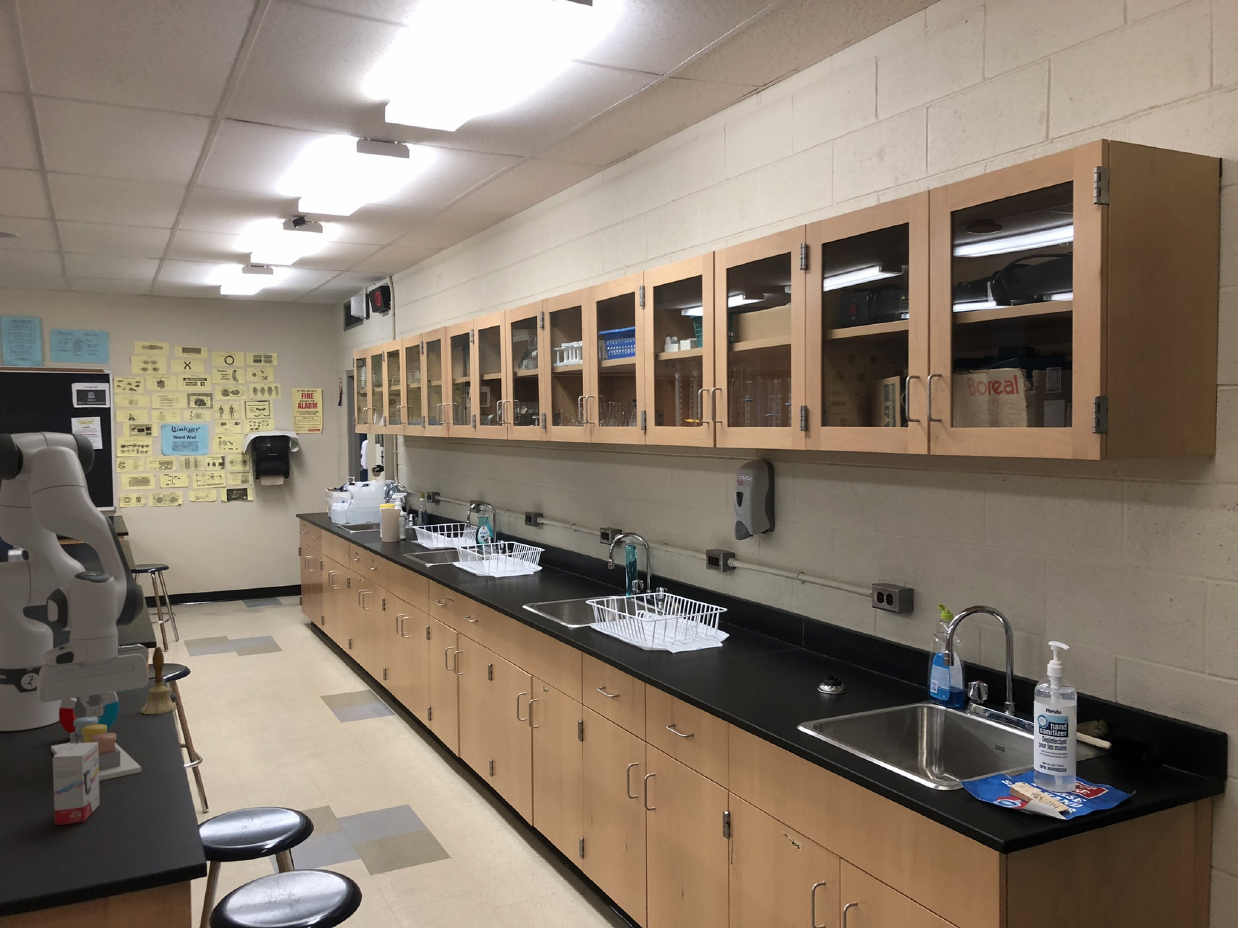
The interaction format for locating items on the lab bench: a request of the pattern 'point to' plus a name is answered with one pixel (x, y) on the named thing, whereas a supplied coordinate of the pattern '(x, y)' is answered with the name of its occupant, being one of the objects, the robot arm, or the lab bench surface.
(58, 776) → the ink box
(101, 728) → the ochre button
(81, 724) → the slate button
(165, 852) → the lab bench surface
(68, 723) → the magnet
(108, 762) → the console
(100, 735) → the terracotta button
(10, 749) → the lab bench surface
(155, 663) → the hand bell
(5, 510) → the robot arm
